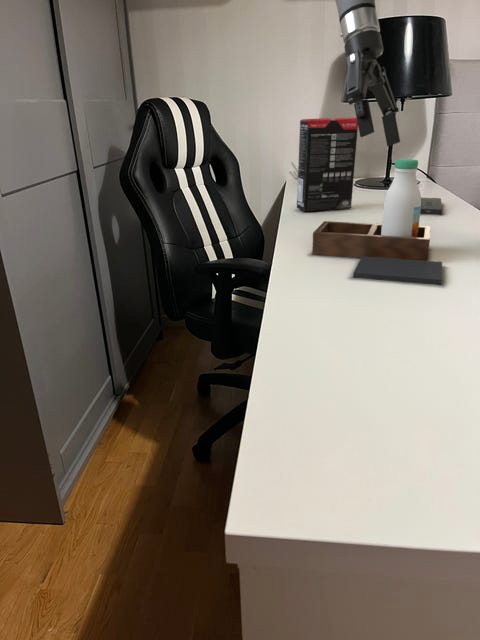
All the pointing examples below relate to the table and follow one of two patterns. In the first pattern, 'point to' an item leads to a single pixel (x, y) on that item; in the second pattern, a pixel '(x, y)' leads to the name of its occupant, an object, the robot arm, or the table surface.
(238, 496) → the table surface
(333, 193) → the graphics card box
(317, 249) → the wooden compartment tray
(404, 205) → the milk bottle
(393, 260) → the mat
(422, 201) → the smart home device
